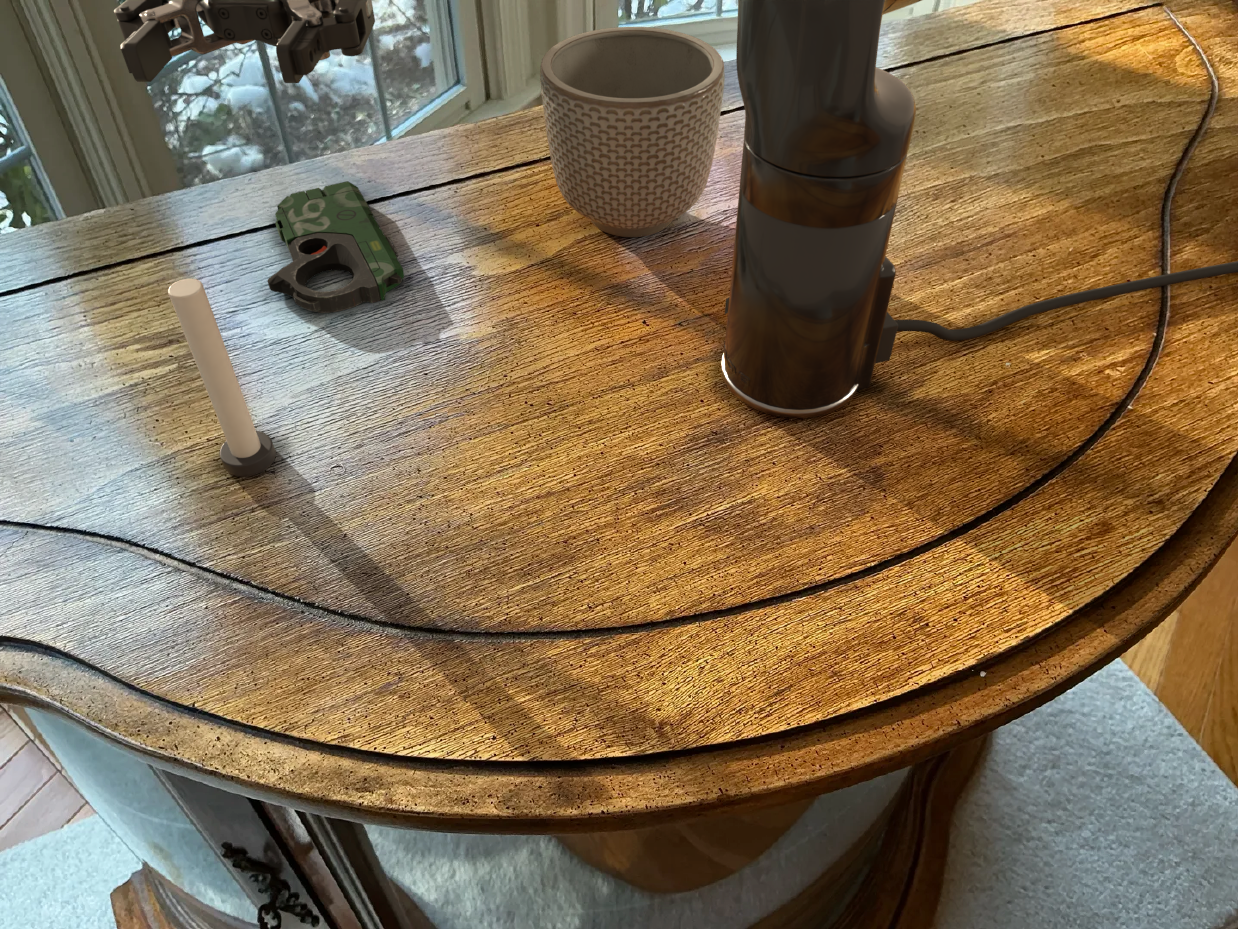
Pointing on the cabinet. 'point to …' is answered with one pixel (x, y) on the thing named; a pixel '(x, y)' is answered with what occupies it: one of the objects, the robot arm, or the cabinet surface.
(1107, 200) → the cabinet surface
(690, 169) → the planter
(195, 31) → the robot arm
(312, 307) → the gun
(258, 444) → the beige rod with base
